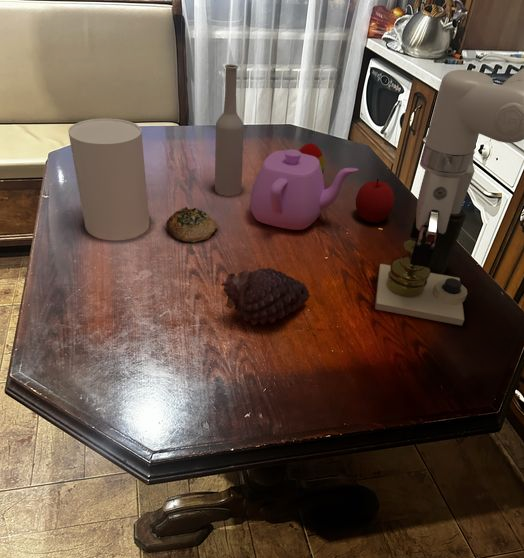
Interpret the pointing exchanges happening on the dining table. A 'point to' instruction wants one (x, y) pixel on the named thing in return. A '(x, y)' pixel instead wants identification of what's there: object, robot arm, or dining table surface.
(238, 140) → the bottle
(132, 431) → the dining table surface
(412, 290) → the brass cabinet knob
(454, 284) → the dark round knob center
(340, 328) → the dining table surface
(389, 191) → the apple
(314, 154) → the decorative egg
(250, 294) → the pine cone
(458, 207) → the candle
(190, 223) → the bread roll
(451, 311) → the white base plate
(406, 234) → the dining table surface
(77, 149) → the canister
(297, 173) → the teapot
